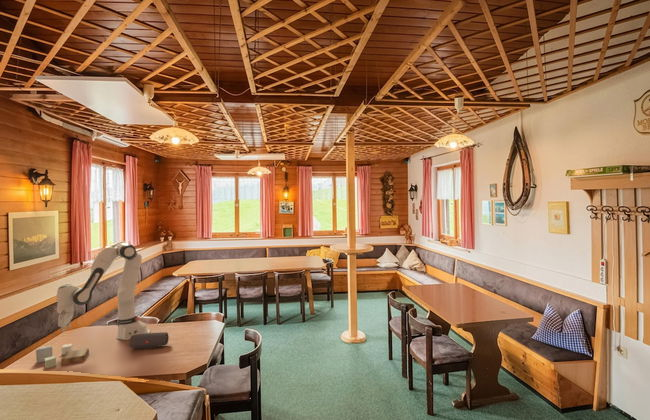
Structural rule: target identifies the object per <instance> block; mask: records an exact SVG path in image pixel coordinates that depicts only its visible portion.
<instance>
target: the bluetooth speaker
mask: <svg viewBox="0 0 650 420" xmlns="http://www.w3.org/2000/svg"><path fill="white" fill-rule="evenodd" d="M169 338H170V337H169V333H168V332H167V331H165V332H161V331H160V332H150V333H146V334H137V335H132V336H131V338H130V339H129V348H130V349H141V350H147V349H150V350H151V349H156V348H158V347H162V346H167V345H168V343H169Z"/></svg>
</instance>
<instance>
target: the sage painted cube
mask: <svg viewBox="0 0 650 420" xmlns="http://www.w3.org/2000/svg"><path fill="white" fill-rule="evenodd" d="M53 366H54V367H57V358H56V355H53V356H52V357H48V358H45V362H44V367H46V368H47V369H50V368H53ZM49 367H50V368H49ZM46 368H45V369H46Z"/></svg>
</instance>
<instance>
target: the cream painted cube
mask: <svg viewBox="0 0 650 420" xmlns="http://www.w3.org/2000/svg"><path fill="white" fill-rule="evenodd" d="M73 345H74V344H73V343H66V344H63V345H62V346H61V355H63V356H64V355H65V354H66V352H70V351H74V347H73Z"/></svg>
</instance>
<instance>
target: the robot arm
mask: <svg viewBox="0 0 650 420" xmlns="http://www.w3.org/2000/svg"><path fill="white" fill-rule="evenodd" d="M119 257H120V258H123V259H124V260H125V263H124V266H123V269H122V273H121V277H120V281H119V285H118V288H117V291H116V292H117V293H116V296H117V334H116V339H118V340H122V341H127V340H130V338H131V336H132V335H137V334H146V333H151V329H150V328H148V327H147V325H146V323H145V322H143V321H141V320H139V315H136V309H135V308H136V307H135V306H136V305H135V292H136V287H137V283H138V279H139V275H140V271H141V267H142V259H143V258H142V255H141V254H140V253H139V252H137V249H136V247H135V246H134V245H133V244H131V243H129V242H124V241H121V242H117V243H116V244H114V245H111V246H109V245H108V246H107V245H106V246H104V247H103V248H102V249H101V250H100V251H99V253H98V254H97V255H96V256H95V258H94V259H93V262H92V264H91V266H90V269H91V270H90V275H89V277H88V279H87V280H86V281H85V283H84V285H83V286H76V285H73V284H71V283H70V284H64V285H61V286H59V287H58V288H57V291H56V301H57V303H56V304H57V305H56V310H57V314H59V315H58V317H57V318H58V320H57V326H58V328H61V332H62V333H63V332H64V333H65V332H66V331H67V328H69V327H70V326H71V321H72V319H73V318H74V309H75V305H78V306H85V305H86V304H88V303H90V301H91V300H92V297H93V292H94V291H95V288H96V286H97V284H98V283H99V282H100V280H101V278H102V277H103V275H104V274H105V273H106V272H107V270H109V268H110V267H111V265H112V264H113V263H114V261H115V260H116V259H117V258H119Z"/></svg>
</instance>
